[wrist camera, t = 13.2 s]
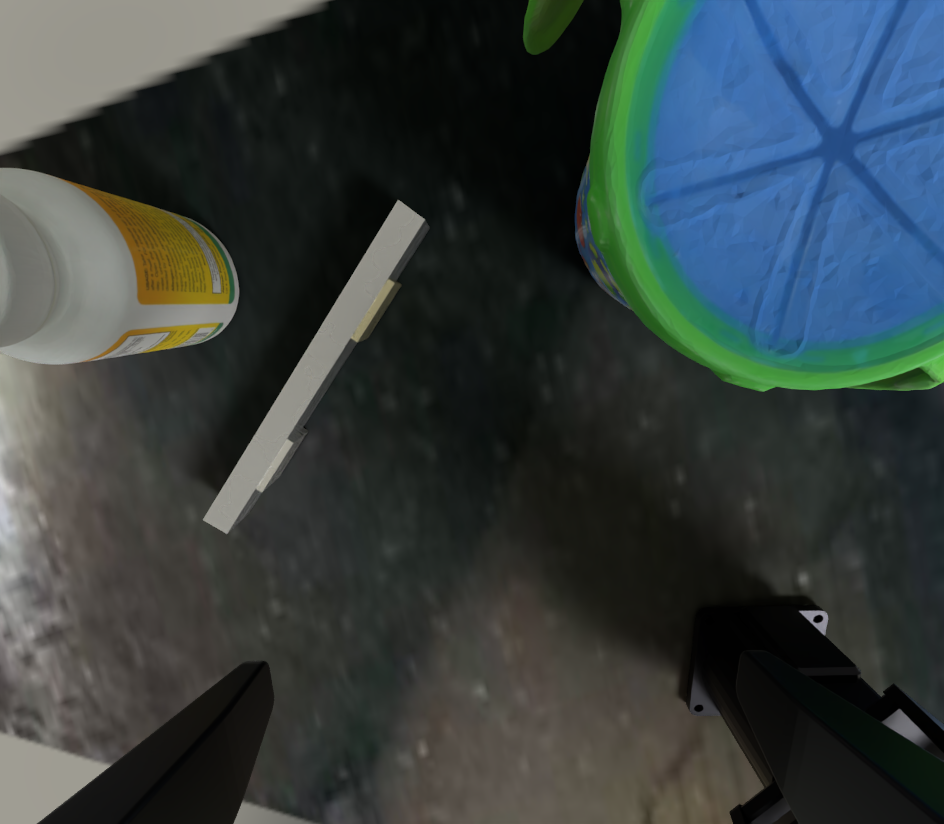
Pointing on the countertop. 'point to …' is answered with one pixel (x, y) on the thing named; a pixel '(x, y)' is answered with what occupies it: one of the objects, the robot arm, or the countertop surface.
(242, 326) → the countertop surface
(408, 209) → the price rail
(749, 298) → the snack cup
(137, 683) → the countertop surface
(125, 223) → the supplement bottle
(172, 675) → the countertop surface
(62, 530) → the countertop surface
